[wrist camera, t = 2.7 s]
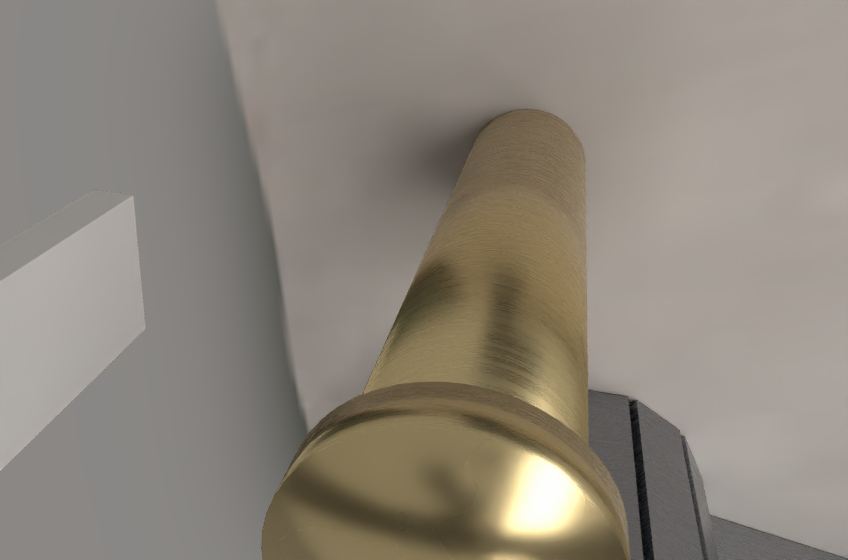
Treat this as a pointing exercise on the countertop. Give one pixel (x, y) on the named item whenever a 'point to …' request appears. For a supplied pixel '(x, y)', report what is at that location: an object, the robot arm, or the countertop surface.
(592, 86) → the countertop surface
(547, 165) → the pin
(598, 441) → the hinge leaf fixed
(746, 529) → the hinge leaf swing
